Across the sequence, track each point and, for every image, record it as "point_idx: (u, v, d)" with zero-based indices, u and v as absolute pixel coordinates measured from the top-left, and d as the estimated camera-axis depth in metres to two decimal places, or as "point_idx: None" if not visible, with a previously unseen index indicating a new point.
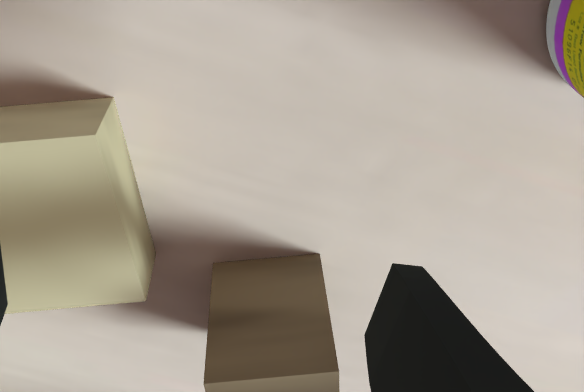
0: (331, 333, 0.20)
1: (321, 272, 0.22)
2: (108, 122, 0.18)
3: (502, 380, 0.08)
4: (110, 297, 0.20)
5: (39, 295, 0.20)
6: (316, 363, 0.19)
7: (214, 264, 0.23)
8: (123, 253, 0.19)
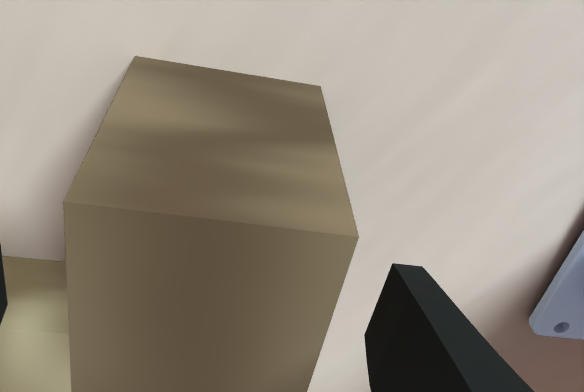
0: (91, 148, 0.09)
1: (126, 76, 0.12)
2: None
3: (502, 380, 0.08)
4: (63, 363, 0.15)
5: None
6: None
7: None
8: None
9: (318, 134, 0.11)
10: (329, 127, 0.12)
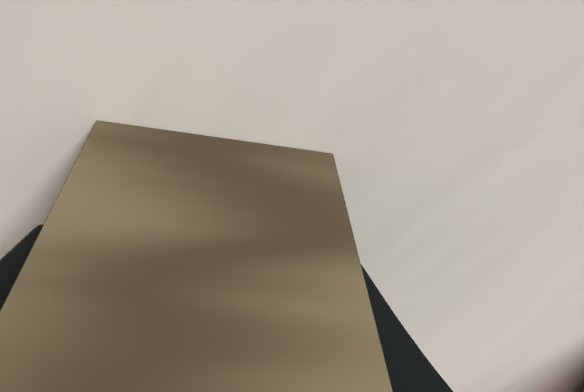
0: (14, 289, 0.07)
1: (80, 155, 0.09)
2: None
3: (416, 373, 0.08)
4: None
5: None
6: None
7: None
8: None
9: (334, 236, 0.09)
10: (348, 222, 0.09)
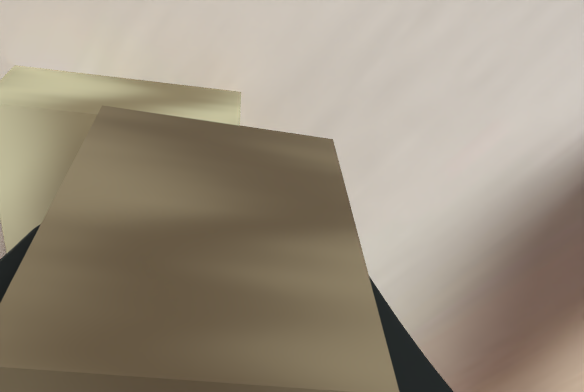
0: (25, 258, 0.07)
1: (87, 137, 0.09)
2: (12, 82, 0.16)
3: (416, 373, 0.08)
4: None
5: None
6: None
7: None
8: None
9: (334, 215, 0.09)
10: (347, 203, 0.09)
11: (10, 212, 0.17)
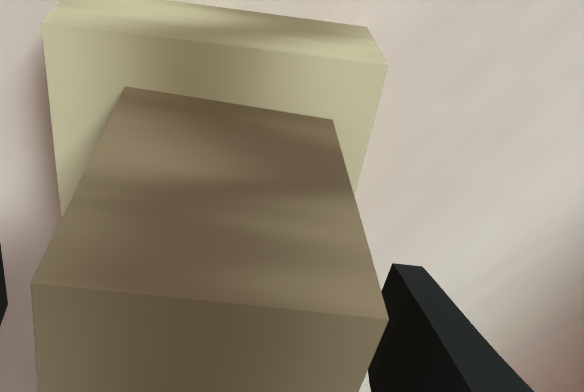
0: (69, 206, 0.08)
1: (114, 112, 0.11)
2: (77, 3, 0.12)
3: (502, 380, 0.08)
4: (359, 115, 0.12)
5: None
6: None
7: None
8: (276, 63, 0.11)
9: (333, 181, 0.10)
10: (345, 171, 0.10)
11: (72, 181, 0.13)
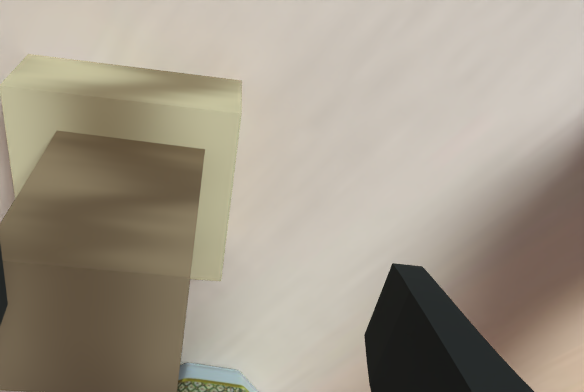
0: (6, 215, 0.13)
1: (45, 150, 0.16)
2: (27, 68, 0.17)
3: (502, 380, 0.08)
4: (226, 147, 0.18)
5: (207, 208, 0.19)
6: None
7: None
8: (163, 112, 0.17)
9: (188, 194, 0.15)
10: (199, 187, 0.16)
11: None
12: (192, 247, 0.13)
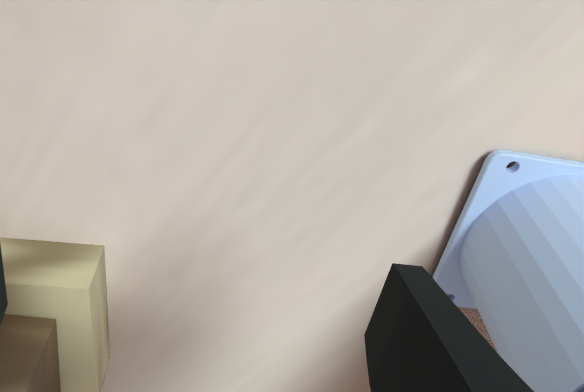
0: None
1: None
2: None
3: (502, 380, 0.08)
4: (81, 311, 0.21)
5: (74, 352, 0.23)
6: None
7: None
8: (24, 289, 0.21)
9: (22, 374, 0.19)
10: (35, 366, 0.20)
11: None
12: None
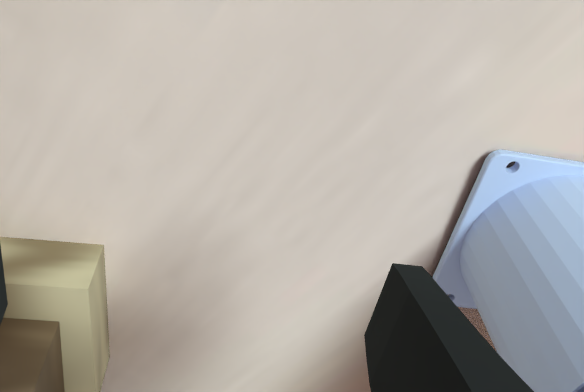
0: None
1: None
2: None
3: (502, 380, 0.08)
4: (80, 311, 0.21)
5: (74, 353, 0.23)
6: None
7: None
8: (23, 289, 0.21)
9: (28, 377, 0.19)
10: (40, 368, 0.20)
11: None
12: None
